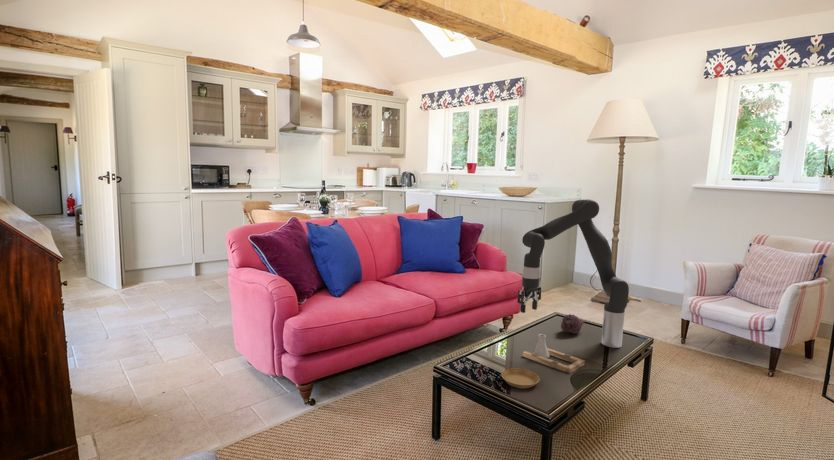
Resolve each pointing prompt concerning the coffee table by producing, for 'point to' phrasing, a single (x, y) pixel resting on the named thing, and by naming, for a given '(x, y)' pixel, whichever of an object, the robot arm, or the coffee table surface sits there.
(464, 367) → the coffee table surface
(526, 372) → the plant saucer
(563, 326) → the pine cone
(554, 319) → the coffee table surface
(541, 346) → the flask
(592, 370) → the coffee table surface
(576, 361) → the beam channel
